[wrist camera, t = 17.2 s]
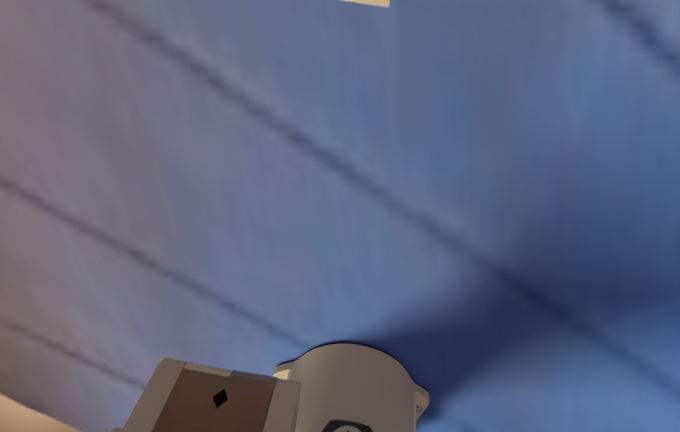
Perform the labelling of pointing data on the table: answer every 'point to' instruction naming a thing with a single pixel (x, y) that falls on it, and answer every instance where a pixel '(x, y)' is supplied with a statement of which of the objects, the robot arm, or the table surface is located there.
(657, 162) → the table surface
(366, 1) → the breaker panel
